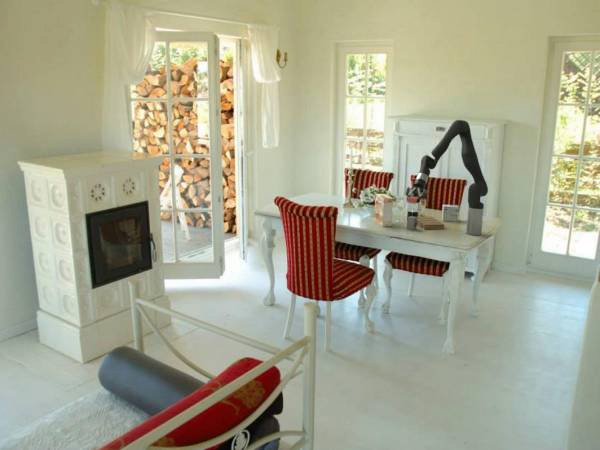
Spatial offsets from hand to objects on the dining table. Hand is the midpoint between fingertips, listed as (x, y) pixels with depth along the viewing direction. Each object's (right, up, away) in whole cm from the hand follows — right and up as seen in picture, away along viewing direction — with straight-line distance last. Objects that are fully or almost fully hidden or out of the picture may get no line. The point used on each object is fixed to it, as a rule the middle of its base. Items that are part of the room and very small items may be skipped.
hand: (412, 201), depth 370 cm
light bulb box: (+32, -12, +32) cm, 47 cm away
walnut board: (+14, -15, +17) cm, 27 cm away
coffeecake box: (-17, -15, +18) cm, 28 cm away
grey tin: (0, -18, +6) cm, 19 cm away
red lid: (+1, 0, +1) cm, 2 cm away
